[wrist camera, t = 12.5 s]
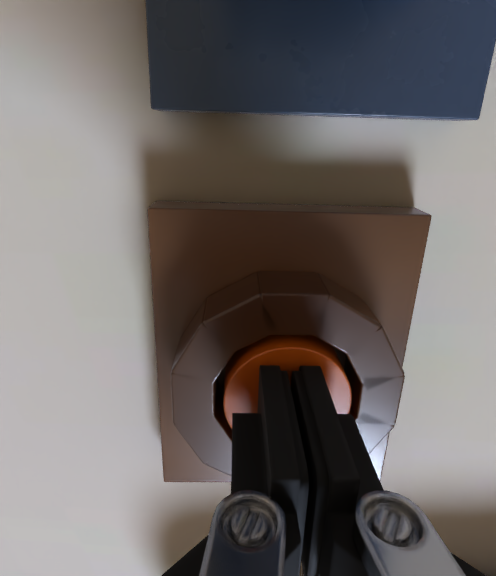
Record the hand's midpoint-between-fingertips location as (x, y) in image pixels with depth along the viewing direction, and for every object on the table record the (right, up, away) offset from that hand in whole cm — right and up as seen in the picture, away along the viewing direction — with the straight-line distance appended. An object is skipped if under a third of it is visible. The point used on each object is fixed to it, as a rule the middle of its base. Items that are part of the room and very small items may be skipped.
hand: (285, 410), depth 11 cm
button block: (0, +1, +3) cm, 3 cm away
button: (0, +1, +2) cm, 2 cm away
